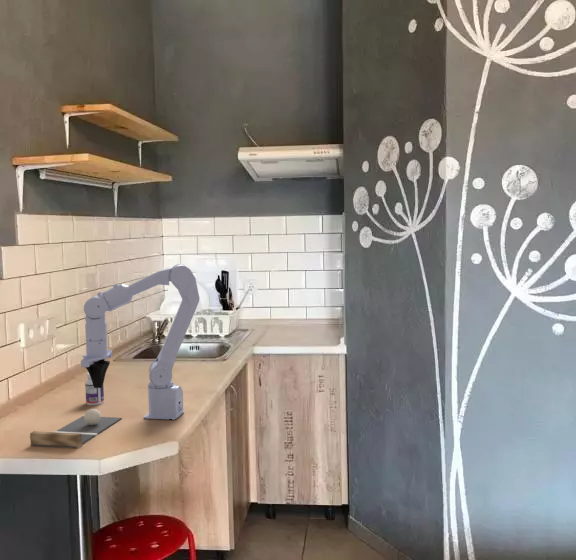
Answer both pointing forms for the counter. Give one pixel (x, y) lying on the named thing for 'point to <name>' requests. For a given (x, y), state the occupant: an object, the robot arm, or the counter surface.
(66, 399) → the counter surface
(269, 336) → the counter surface
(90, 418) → the ball
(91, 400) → the pill bottle
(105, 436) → the counter surface
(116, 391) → the counter surface
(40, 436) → the backstop rail
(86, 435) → the lane
